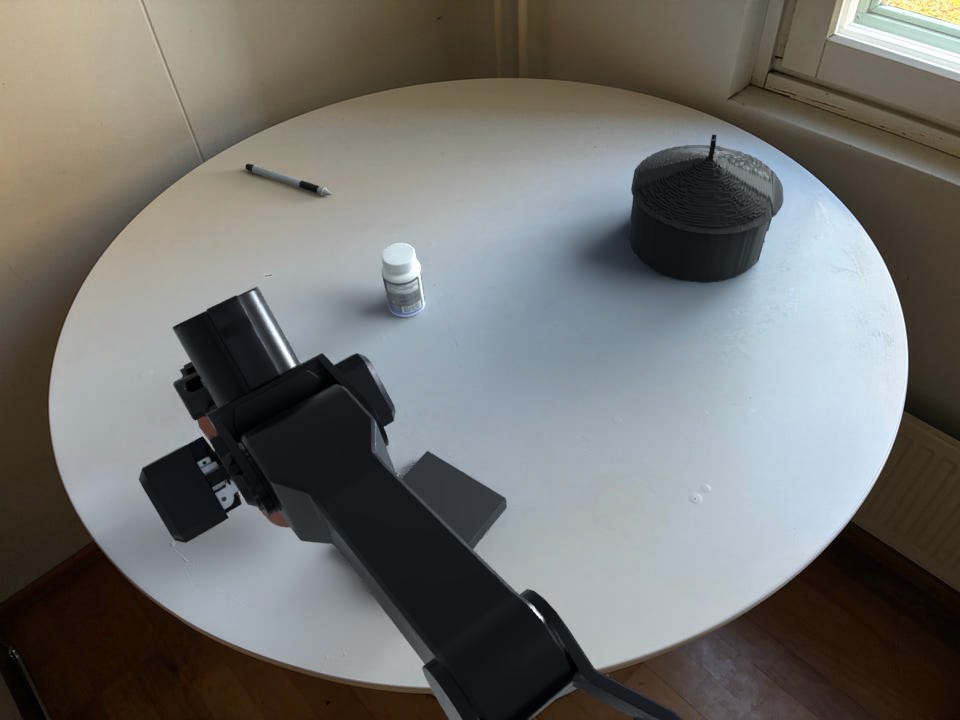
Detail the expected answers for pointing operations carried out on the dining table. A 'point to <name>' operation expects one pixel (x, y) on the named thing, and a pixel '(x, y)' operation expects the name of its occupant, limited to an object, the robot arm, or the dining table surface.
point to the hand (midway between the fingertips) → (261, 439)
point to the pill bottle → (403, 280)
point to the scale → (455, 497)
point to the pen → (287, 179)
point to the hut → (702, 211)
